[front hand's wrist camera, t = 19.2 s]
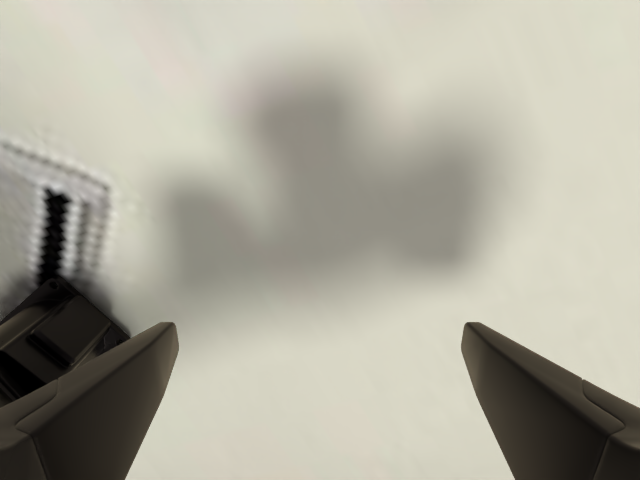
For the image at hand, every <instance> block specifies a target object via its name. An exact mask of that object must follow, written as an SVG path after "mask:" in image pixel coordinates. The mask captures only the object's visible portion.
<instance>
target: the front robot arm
mask: <svg viewBox="0 0 640 480" xmlns="http://www.w3.org/2000/svg"><path fill="white" fill-rule="evenodd" d="M54 282H55V283H57V285H58V286H56V285H55V284H54ZM120 340H122V341H123V342H121V341H120ZM178 350H179V343H178V336H177V330H176V325H175V324H174V323H173V322H161V323H158V324H157V325H155V326H153V327H151V328H149V329H147V330H146V331H144V332H142V333H140V334H138V335H136V336H135V337H133V338H131V339H130V338H129V336H128V335H127V334H126V333H124V332H123V331H122V330H121V329H120V328H119V327H118V326H116V325H115V324H114V323H113V322H112V321H111V320H110V319H108V318H107V317H106V316H105V315H104V314H103V313H102V312H101V311H99V310H98V309H97V308H96V307H95V306H94V305H93V304H91V303H90V302H89V301H88V300H87V299H86V298H85V297H83V296H82V295H81V294H80V293H79V292H78V291H77V290H76V289H74V288H73V287H72V286H71V285H70V284H69V283H68V282H66V281H65V280H64V279H63V278H61V277H59V276H53V277H51V278H50V279H48V280H47V281H46V282H45V283H44V284H43V285H41V286H40V287H39V288H38V289H37V290H36V291H35V292H33V293H32V294H31V295H30V296H29V297H28V298H27V299H26V300H24V301H23V302H22V303H21V304H20V305H19V306H18V307H16V308H15V309H14V310H13V311H12V312H11V313H10V314H9V315H7V316H6V317H5V318H4V319H3V320H2V321H1V322H0V480H125V478H126V476H127V474H128V472H129V470H130V467H131V465H132V463H133V461H134V459H135V457H136V455H137V452H138V450H139V448H140V446H141V444H142V442H143V439H144V437H145V435H146V433H147V431H148V429H149V427H150V424H151V422H152V420H153V418H154V416H155V414H156V411H157V409H158V407H159V405H160V403H161V400H162V398H163V396H164V393H165V390H166V388H167V385H168V381H169V378H170V375H171V372H172V369H173V366H174V363H175V360H176V357H177V354H178ZM461 350H462V354H463V357H464V360H465V363H466V366H467V369H468V372H469V375H470V378H471V381H472V384H473V388H474V390H475V393H476V396H477V398H478V400H479V403H480V405H481V407H482V409H483V411H484V414H485V416H486V418H487V420H488V422H489V424H490V427H491V429H492V431H493V433H494V435H495V437H496V439H497V442H498V444H499V446H500V448H501V450H502V452H503V455H504V457H505V459H506V461H507V463H508V465H509V467H510V470H511V472H512V474H513V476H514V478H515V480H640V408H639V407H636V406H634V405H632V404H630V403H628V402H626V401H624V400H622V399H620V398H618V397H616V396H614V395H612V394H611V393H609V392H607V391H605V390H603V389H601V388H599V387H597V386H595V385H594V384H592V383H590V382H588V381H586V380H582V378H581V377H579V376H577V375H575V374H573V373H571V372H570V371H568V370H566V369H564V368H562V367H560V366H559V365H557V364H555V363H553V362H551V361H549V360H548V359H546V358H544V357H542V356H540V355H538V354H537V353H535V352H533V351H531V350H529V349H527V348H526V347H524V346H522V345H520V344H518V343H516V342H515V341H513V340H511V339H509V338H507V337H505V336H504V335H502V334H500V333H498V332H496V331H494V330H493V329H491V328H489V327H487V326H485V325H483V324H482V323H479V322H467V323H466V324H465V325H464V330H463V336H462V343H461Z"/></svg>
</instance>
